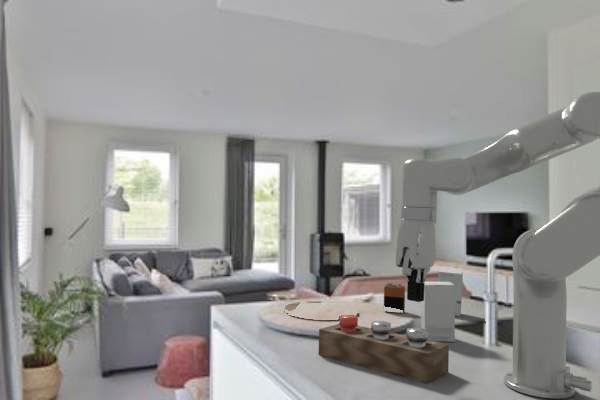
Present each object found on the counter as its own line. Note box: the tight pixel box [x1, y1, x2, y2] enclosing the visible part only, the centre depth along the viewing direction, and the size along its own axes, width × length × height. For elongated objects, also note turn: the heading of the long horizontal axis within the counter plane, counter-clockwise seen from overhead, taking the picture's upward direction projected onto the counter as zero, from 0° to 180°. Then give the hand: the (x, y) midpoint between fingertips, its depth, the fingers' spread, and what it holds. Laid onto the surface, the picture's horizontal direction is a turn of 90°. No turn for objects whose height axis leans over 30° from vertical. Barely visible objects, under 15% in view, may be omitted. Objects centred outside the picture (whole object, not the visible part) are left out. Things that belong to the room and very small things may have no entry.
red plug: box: [338, 315, 359, 333], centre depth 114 cm, size 4×4×5 cm
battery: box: [383, 282, 406, 312], centre depth 167 cm, size 4×7×10 cm, turn 71°
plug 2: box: [406, 327, 428, 349], centre depth 102 cm, size 4×4×5 cm
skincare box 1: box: [420, 280, 456, 343], centre depth 131 cm, size 8×7×16 cm
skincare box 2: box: [437, 270, 464, 317], centre depth 166 cm, size 8×6×15 cm
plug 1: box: [370, 320, 392, 340], centre depth 108 cm, size 4×4×5 cm
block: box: [318, 323, 450, 385], centre depth 108 cm, size 28×10×6 cm, turn 49°
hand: (415, 300), depth 103 cm, fingers closed
